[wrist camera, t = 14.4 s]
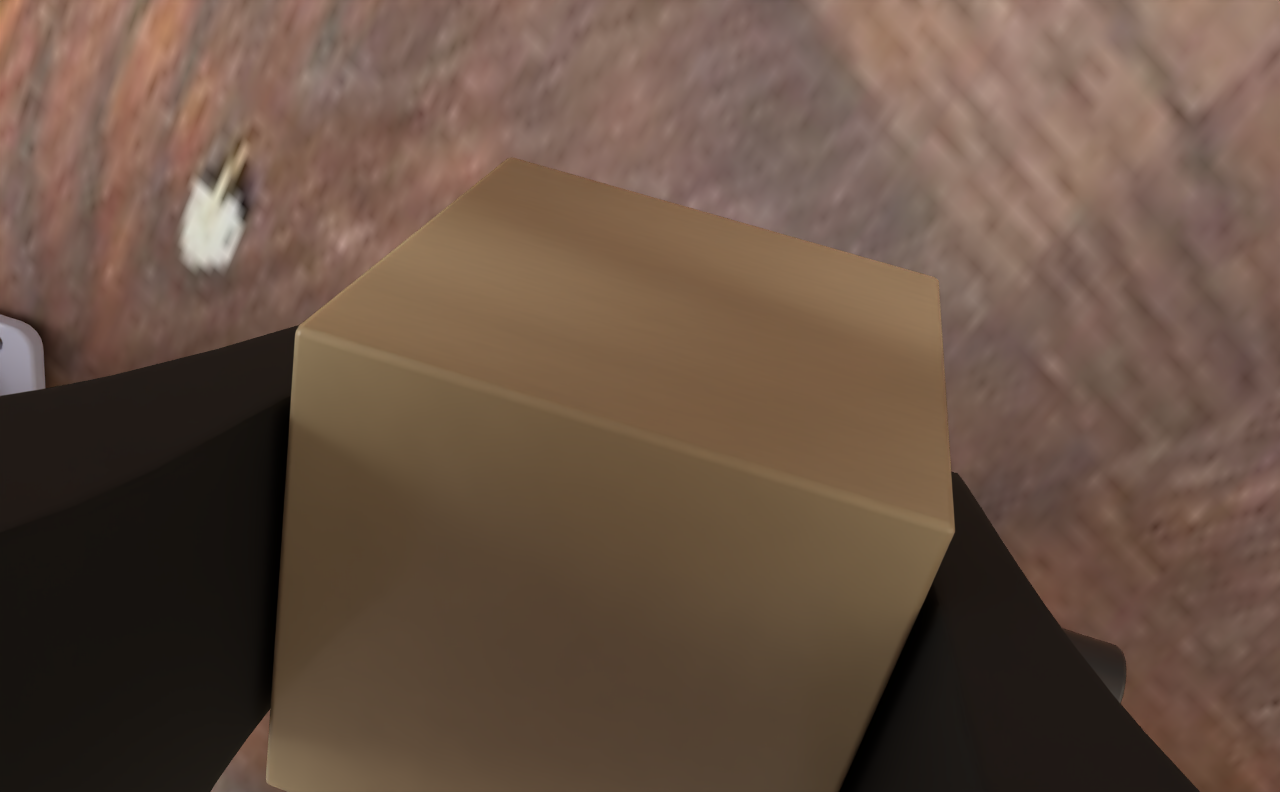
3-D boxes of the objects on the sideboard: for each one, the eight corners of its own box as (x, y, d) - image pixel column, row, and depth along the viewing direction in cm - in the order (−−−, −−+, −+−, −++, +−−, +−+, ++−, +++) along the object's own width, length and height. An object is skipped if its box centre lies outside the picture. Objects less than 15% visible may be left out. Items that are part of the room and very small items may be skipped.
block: (451, 507, 13) (262, 786, 9) (508, 153, 11) (291, 326, 7) (809, 620, 13) (766, 960, 9) (940, 277, 11) (960, 528, 7)
